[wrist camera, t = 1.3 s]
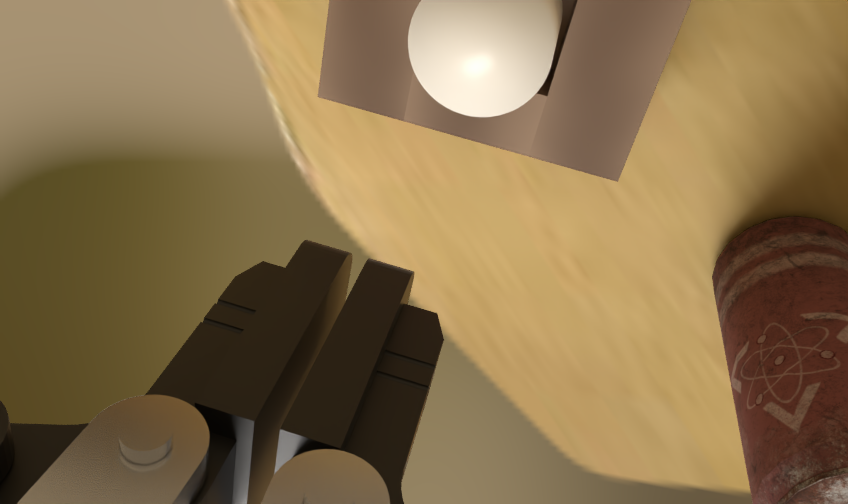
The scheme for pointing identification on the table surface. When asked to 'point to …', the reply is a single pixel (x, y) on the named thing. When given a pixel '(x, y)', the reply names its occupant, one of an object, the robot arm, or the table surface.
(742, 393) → the can
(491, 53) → the offwhite button
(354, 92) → the button panel
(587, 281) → the table surface
